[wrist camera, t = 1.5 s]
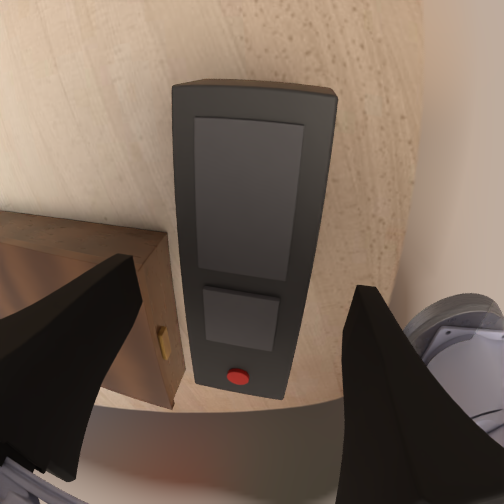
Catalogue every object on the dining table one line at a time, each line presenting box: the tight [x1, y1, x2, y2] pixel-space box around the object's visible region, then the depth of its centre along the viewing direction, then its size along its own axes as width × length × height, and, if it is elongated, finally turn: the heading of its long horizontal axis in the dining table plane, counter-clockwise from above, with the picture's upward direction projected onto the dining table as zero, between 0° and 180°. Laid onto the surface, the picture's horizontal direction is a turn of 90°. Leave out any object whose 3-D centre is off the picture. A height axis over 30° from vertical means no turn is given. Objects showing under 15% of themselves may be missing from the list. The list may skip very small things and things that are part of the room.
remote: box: [172, 79, 338, 400], centre depth 11 cm, size 12×4×3 cm, turn 177°
